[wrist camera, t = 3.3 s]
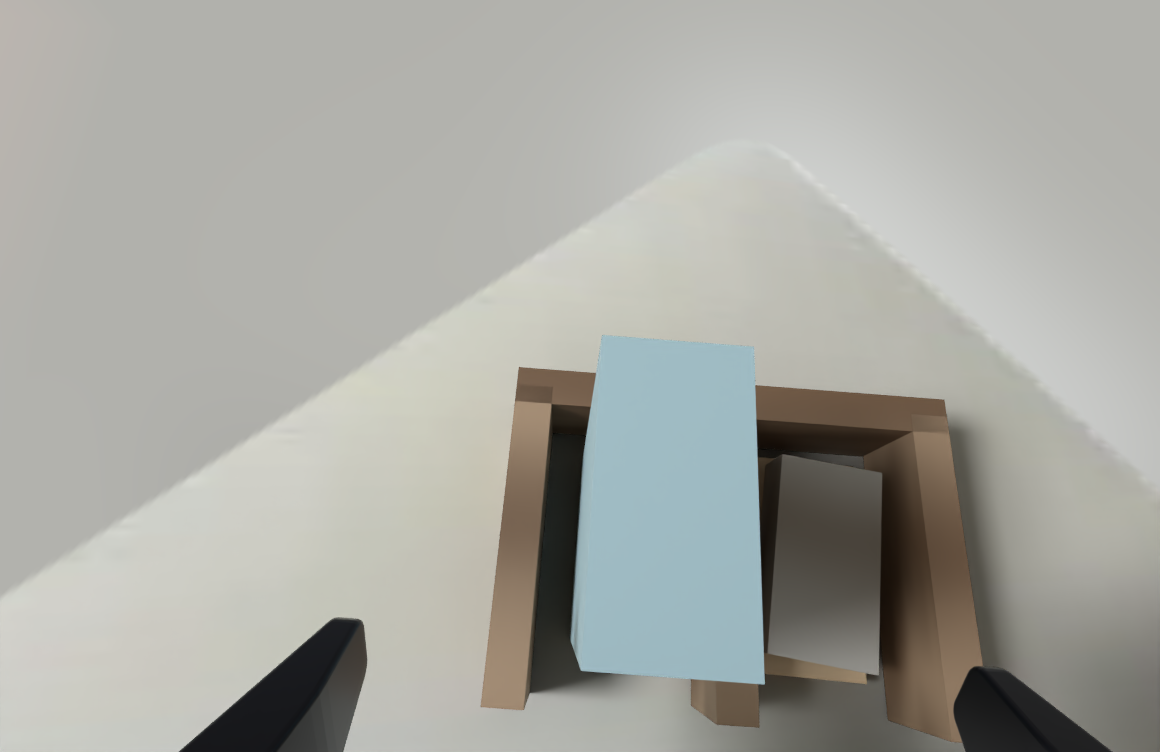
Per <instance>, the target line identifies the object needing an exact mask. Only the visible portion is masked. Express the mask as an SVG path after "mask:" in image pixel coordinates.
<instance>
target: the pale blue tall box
mask: <svg viewBox="0 0 1160 752" xmlns="http://www.w3.org/2000/svg"><path fill="white" fill-rule="evenodd" d="M570 641H571V643H572V646H573V649H574V652H575V655H576V658H577V661H578V663H579V666H580V669H581V671H589V672H603V673H616V674H630V675H643V676H657V677H670V678H684V679H697V680H711V681H724V682H738V683H751V684H764V685H765V677H764V645H763V614H762V583H761V551H760V520H759V489H758V457H757V426H756V395H755V363H754V347H750V346H737V345H724V344H711V343H698V342H685V341H672V340H659V339H646V338H633V337H620V336H607V335H602V339H601V346H600V352H599V358H598V365H597V371H596V377H595V384H594V390H593V396H592V403H591V409H590V415H589V422H588V428H587V435H586V441H585V447H584V454H583V460H582V466H581V481H580V495H579V509H578V524H577V538H576V552H575V566H574V581H573V595H572V609H571V624H570Z"/></svg>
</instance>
